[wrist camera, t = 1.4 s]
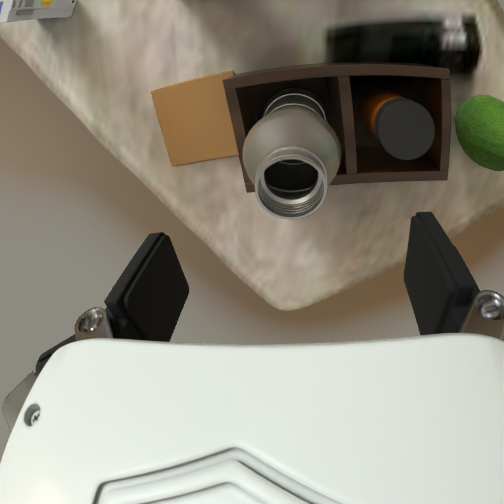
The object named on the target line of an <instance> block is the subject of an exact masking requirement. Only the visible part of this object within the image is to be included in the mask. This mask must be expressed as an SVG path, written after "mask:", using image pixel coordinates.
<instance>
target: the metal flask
mask: <svg viewBox="0 0 504 504" xmlns="http://www.w3.org/2000/svg"><path fill="white" fill-rule="evenodd" d="M340 161H341V147H340V143H339V139H338V137H337V135H336V133H335V131H334V130H333V129H332V127H331V126H330V125H329V124H328V123H327V111H326V108H325V106H324V104H323V102H322V101H321V100H320V99H319V97H317V96H316V95H315V94H313V93H312V92H310V91H308V90H304V89H299V88H291V89H285V90H282V91H280V92H278V93H276V94H275V95H274V96H272V97H271V98H270V99H269V100H268V102H267V103H266V105H265V107H264V110H263V116H262V119H260V120H259V121H258V122H257V123H256V124H255V125H254V126H253V127H252V129H251V130H250V131H249V133H248V135H247V137H246V139H245V142H244V146H243V162H244V167H245V169H246V172H247V174H248V177H249V178H250V180H251V181H252V183H253V184H254V185H255V193H256V197H257V200H258V202H259V203H260V205H261V206H262V207H263V208H264V209H265V210H266V211H267V212H268V213H270V214H271V215H273V216H276V217H278V218H282V219H290V220H291V219H300V218H304V217H306V216H309V215H310V214H312V213H314V212H315V211H316V210H317V209H318V208H319V207H320V206H321V205H322V203H323V202H324V199H325V197H326V193H327V186H328V185H329V184H330V183H331V181H332V180H333V179H334V177H335V175H336V173H337V171H338V168H339V166H340Z"/></svg>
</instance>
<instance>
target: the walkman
mask: <svg viewBox="0 0 504 504" xmlns="http://www.w3.org/2000/svg"><path fill="white" fill-rule="evenodd" d="M76 2H77V0H7V1H3V2H0V23H6V22H13V21H21V20H32V19H41V18H58V17H71V16H72V12H73V9H74V8H75V5H76Z"/></svg>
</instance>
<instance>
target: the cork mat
mask: <svg viewBox="0 0 504 504" xmlns="http://www.w3.org/2000/svg"><path fill="white" fill-rule="evenodd" d="M232 76H234V72H233V71H229V72H224V73H219V74H215V75H210V76H206V77H202V78H198V79H194V80H190V81H186V82H182V83H178V84H175V85H171V86H168V87H164V88H161V89H158V90H154V91H151V95H152V98H153V102H154V106H155V109H156V113H157V116H158V120H159V124H160V127H161V130H162V134H163V137H164V141H165V144H166V148H167V151H168V154H169V158H170V161H171V164H172V166H176V165H181V164H187V163H192V162H198V161H204V160H210V159H216V158H222V157H229V156H235V155H239V154H238V149H237V145H236V140H235V136H234V131H233V127H232V122H231V118H230V113H229V108H228V104H227V99H226V95H225V90H224V86H223V81H222V80H223V79H226V78H229V77H232Z"/></svg>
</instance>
